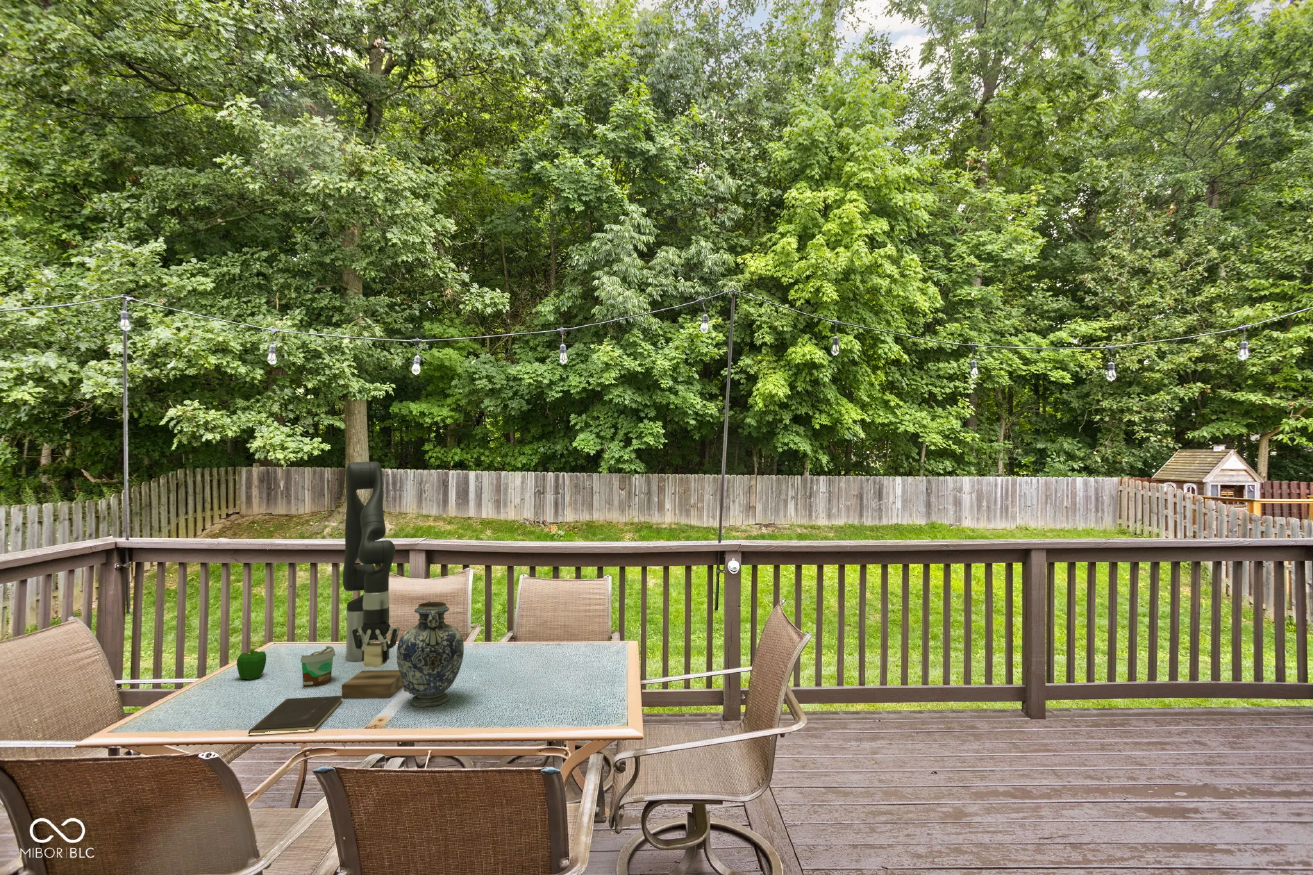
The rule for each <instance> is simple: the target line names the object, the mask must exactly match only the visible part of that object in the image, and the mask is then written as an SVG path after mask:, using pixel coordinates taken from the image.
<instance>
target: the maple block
mask: <svg viewBox="0 0 1313 875" xmlns="http://www.w3.org/2000/svg"><path fill="white" fill-rule="evenodd" d="M385 664H386V663H383V645H381V644H380V642H379V641H377V642H375V641H374V642H371V643H370V644H368V645H367V646H365V647H364V661H363V668H364V667H365V668H369V667H370V668H373V667H374V668H376V667H378V668H379V667H380V668H381V667H382V666H384V665H385Z"/></svg>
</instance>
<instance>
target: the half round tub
mask: <svg viewBox="0 0 1313 875" xmlns="http://www.w3.org/2000/svg"><path fill="white" fill-rule="evenodd" d="M335 656H336V651H335V647H333V646H330V645H326V646H325V648H324V649H322V650H319V651H314V652H312V653H311V654H307V655H301V657H300V663H301V671H302V672H301V673H302V687H303V688H314V687H313V686H315V687H320V685H321V686H324V685H327V684H330V683H331V681H332V672H333V663H334V662H333V660H334V657H335Z"/></svg>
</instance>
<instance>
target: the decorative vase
mask: <svg viewBox="0 0 1313 875" xmlns="http://www.w3.org/2000/svg"><path fill="white" fill-rule="evenodd" d="M448 611H450V607H449V606H448V605H447V603H446V602H442V601H431V600H427V602H423V603H419V604H418V606H417V607H415V609H414V613H416V614H418V616H419V617H418V620H417V621H418V623H417V625H415V626H411V628H408V629H407V630H406V631H405V632H404V633H403V634H402V635H401V636H400V638H399V641H397V642H398V643H397V648H396V663H397V670H399V672H400V675H401V677H402V679H401V683H403V687H402V688H403V692H405V693H409V695H413V696H412V698H411V700H410V704H411V705H412V706H414V707H416V706H417V707H418V708H432V707H438V706H441V705H443V704H446V703H447V702H449V701H450V695H449V694H448V693H446V691H447V690H449V689H450V688H451V686H452V685H453V684H454V682H455V681H456V680H457V677H458V674H460V673H459V672H460V670H461V666H462V664H463V660H464V653H465V652H464V651H465V647H464V646H465V643H464V639H463V635H462V633H461V631H460V630H459V628H457V627H456V626H454V625H451V624H448V623H446V622H445V619H446V618H445V614H446V612H448Z"/></svg>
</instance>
